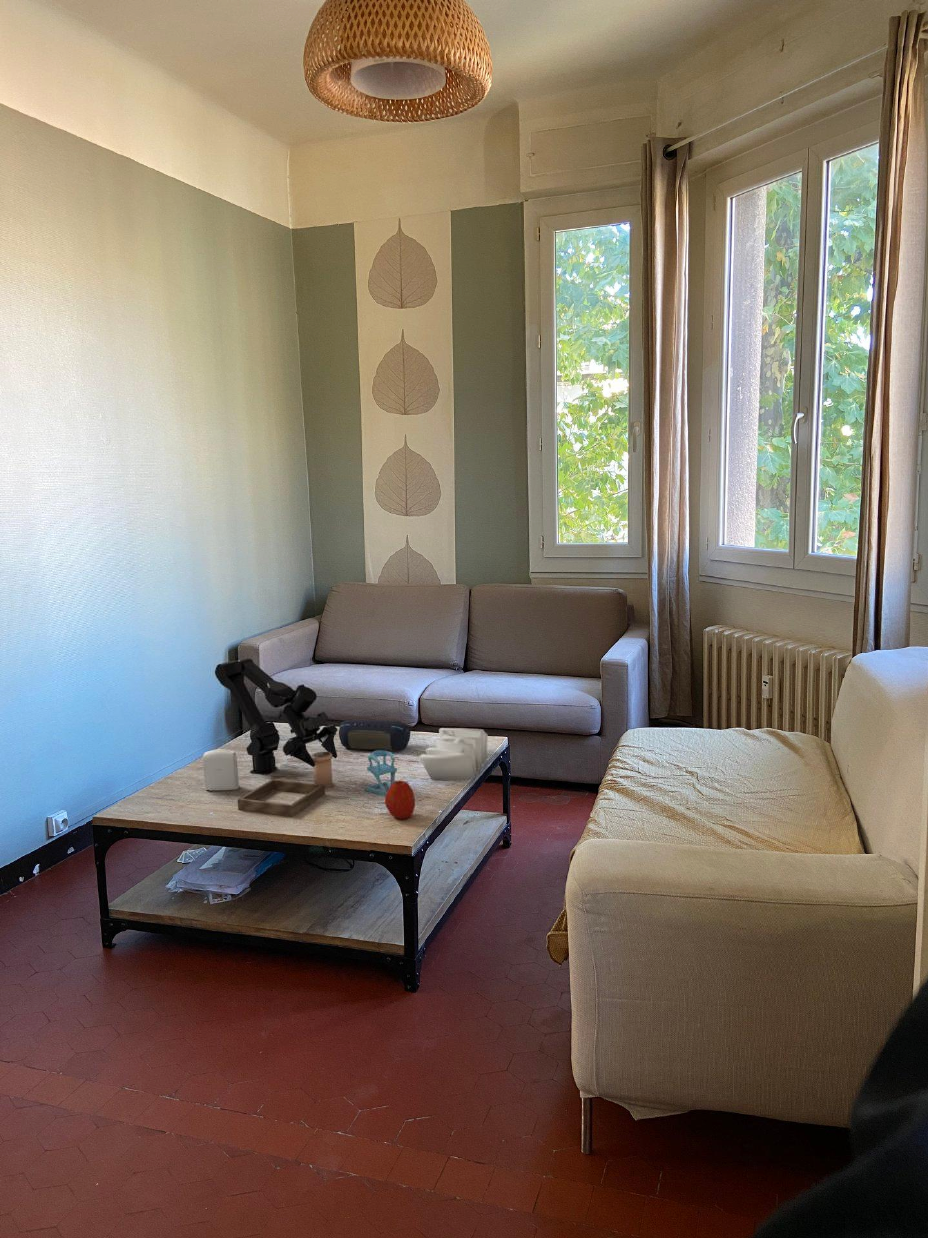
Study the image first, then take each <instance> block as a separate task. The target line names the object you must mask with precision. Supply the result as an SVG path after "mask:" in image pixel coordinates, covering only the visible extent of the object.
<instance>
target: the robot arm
mask: <svg viewBox="0 0 928 1238" xmlns="http://www.w3.org/2000/svg"><path fill="white" fill-rule="evenodd" d="M214 675H215V677H216V679H217V680H218V682H219V684H220V685H222V686H223V687H224V688H226V689H228V690H229V691H230V693H231V695H232V696H233V698H234V700H235V702H236V704H237V707H239V709H240V711H241V713H242V714H243V716H244V719H245V721H246V723H247V724H248V726H249V728H250V729H249V738H250V743H248V745H247V747H246V748H245V749H246V752H247V755H248V756H251V760H252V769H251V770H250V772H249V773H251V774H260V775H268V774H270V773H272V772H274V771H275V770H277V769H278V766H276V765H277V763H276V757H275V751H278V747H279V744H280V739H281V737H280V734H279V732H280V731H279V730H278V729H277V727H276V725H275V723H274V722H273V721H269V722H268V721H266V720H265V718H264V717H263V715H262V713H261V711H260V709H259V708H258V705H257V704H256V702H255V700H254V699H253V697H252V695H251V692H249V690H248V687H247V686H246V684H245V678H247V679H248V680H249V681H250V682H251V683H252V684H254V685H255V686H256V688H258V689H259V690H261V691H262V693H264V698H265V700H266V701H267V702H268V703H269V704H270V706H271V707H273V708H276V709H277V708H280V707H283V706H284V707H283V708H282V709H279V714H278V719H279V720H281V719H284V720H285V721H286V722H287V724H288V726H289V727H290V730H289V732H290V733H291V734H295V736H293V737H290V738H288V740H287V741H286V742H285V744H284V745H283V746H282V752H283V754H284V755H285V756H289V757H293V758H296V759H297V760H300V761H302V762H304V763H305V764H307V765H309V766H310V767H314V766H315V765H316V764H315V762H314V760H313V759H312V757H311V754H310V752H309V751H308V750H307V744H309V743H313V742H315V741H318V742H319V743H321V744H320V745H321V746H322V748H323V749H324V750H325V752H330V753H332V758H334V759H337V758H338V754H337V750H336V746H335V739H334V738H335V736H336V735H337V732H339V729H338V728H337V726H336V725H335V724H332V723H331V724H328V725H327V722H329V720H330V719H329V717H328V714H327V713H325V711H322V712H319V713H317V715H316V717H313V718H312V717H311V716H307V715H306V714H305V713H307V712H308V710H309V709H310V708H311V706H312V705H313V704H314V703H315V701H316V700H317V697H318V696H317V693H316V692H315V690H314V689H312V688H310V687H307V686H305V685H304V684H299V685H298V686H297V687H296V689H293V688H292V687H291V686H290V685H288V684H286V683H284V682H281V681H277V680H275V679H274V678H272V677H271V676H270V675H268V673H267V672H265V671H264V670H263V669H262V668H260V667H259V666H258V665H257V664H256V663H254V661H253V659H252V658H249V657H246V658H242V659H239V660H231V661H227V662H222V663H218V664H217V665H216V667H215V670H214ZM320 729H321V730H320Z"/></svg>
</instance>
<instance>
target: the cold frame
mask: <svg viewBox="0 0 928 1238" xmlns="http://www.w3.org/2000/svg"><path fill="white" fill-rule="evenodd" d="M273 791H283V792H289V793H298V794H305V795H303V796H302V797H301V798H299V799H298V800H296V801H295V802H293V803H291V804H288V803H281V802H272V801H264V800H260V799H261V797H262V798H263V797H265V796H266V795H268V794H270V793H271V792H273ZM325 795H326V789H325V785H322V784H314V782H312V783H311V782H303V781H294V780H286V779H285V780H284V779H278V778H275V779H274V778H271V779H270V780H269V781H268V780H267V782H264V783H263V784H262V785H260V786H258V787H257V788H255V789H253V790H251V791H249V792H248V793H246V794H244V795H242V796H241V797H239V798H237V809H238V811H239V810H240V811H248V812H255V813H262V814H263V813H264V814H269V815H270V814H271V815H278V816H286V817H294V816H296V815H297V814H299V813H300V812H302V811H304V810H305V809H306V808H308V807H309V806H311V805H312V804H314V803H315V802H316V801H318V800H320V799H321V798H322V797H324V796H325Z"/></svg>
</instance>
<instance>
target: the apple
mask: <svg viewBox="0 0 928 1238" xmlns="http://www.w3.org/2000/svg"><path fill="white" fill-rule="evenodd" d="M386 791H387V793H386V796H385V795H384V796H385V797H384V804H385V807H386V809H387V811H388V812H389V814H390V815H391V816H392V817H394V818H395V819H399V820H400V819H401V820H403V819H407V818H410V817H411V816H412V814H413V813H414V810H415V806H416V799H415V798H416V797H415V794H414V791H413V788H412V787H411V786H410V785H409V783H407V782H406V781H404V780H394V782H393V784H392V785H391V784H390V788H389V789H388V788H387V790H386Z"/></svg>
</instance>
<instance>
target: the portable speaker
mask: <svg viewBox="0 0 928 1238" xmlns="http://www.w3.org/2000/svg"><path fill="white" fill-rule="evenodd" d="M338 738H339V741H340V745H342V747H344V748H347V749H352V750H353V749H357V750H358V749H359V750H373V751H377V750H382V751H403V750H404V749H406V748H407V746H408V745H409V742H410V739H411V727H410V725H409V724H407V723H405V722H402V721H399V720H398V721H397V720H396V721H395V720H393V721H392V720H372V719H371V720H370V719H353V718H351V719H347V720H344V721H341V722H340V723H339V729H338Z"/></svg>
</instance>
